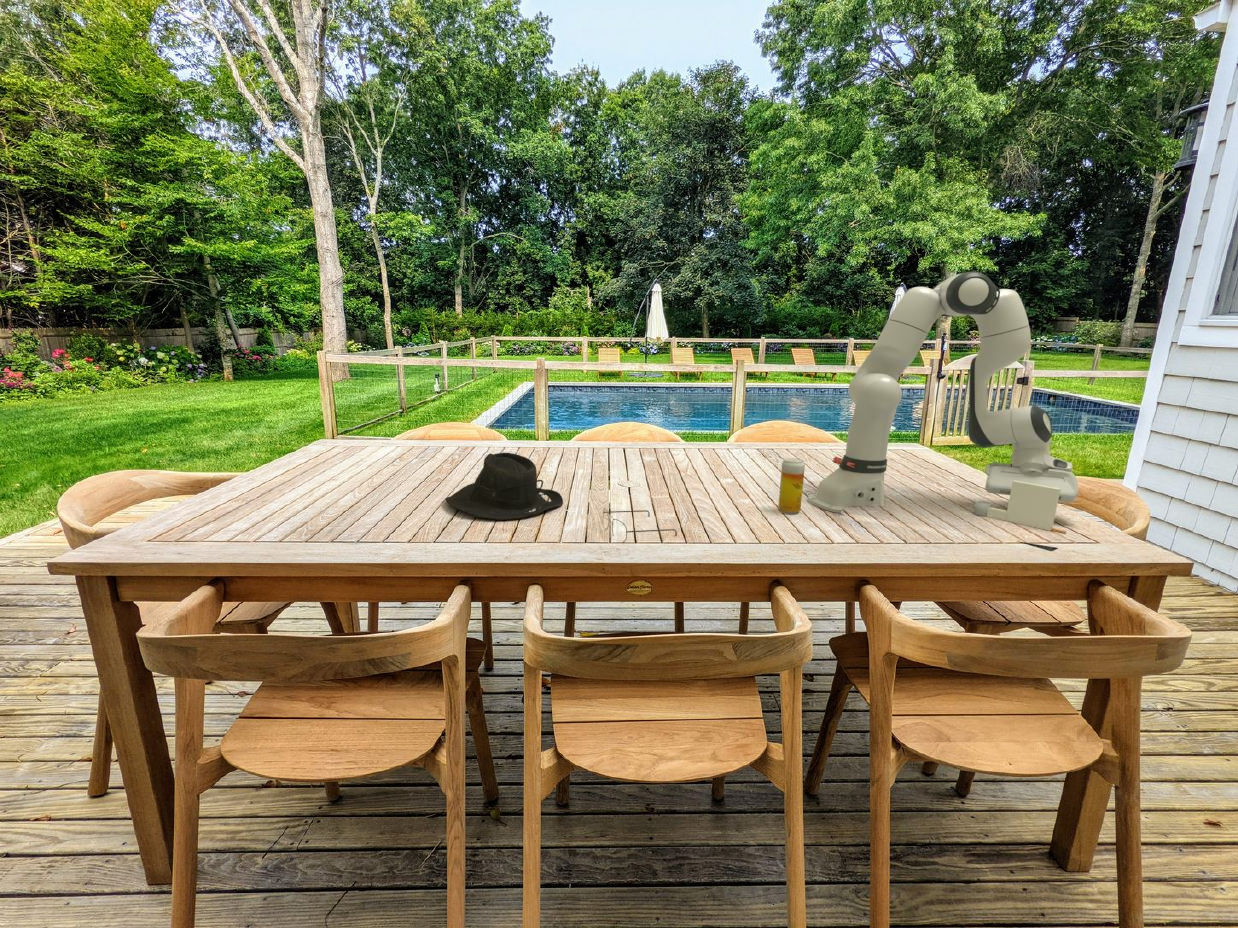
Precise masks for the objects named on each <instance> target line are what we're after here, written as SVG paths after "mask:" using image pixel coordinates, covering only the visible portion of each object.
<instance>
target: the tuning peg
mask: <svg viewBox="0 0 1238 928" xmlns="http://www.w3.org/2000/svg"><path fill="white" fill-rule="evenodd" d="M1060 490H1061V489H1060V488H1055V487H1049V486H1044V485H1038V484H1032V483H1027V482H1021V481H1016V480H1014V481H1013V482H1012V487H1011V493H1010V495H1009V499H1008V504H1007V510H1006V509H1002V508H997V507H993V506H992V507H991V505H992V504H991V503H989V502H985V501H975V504H974V508H973V509H974V510H973V514H974V515H976V516H979V517H988V518H991V519H996V520H1002V521H1004V522H1005V521H1006V522H1010V523H1014V524H1018V525H1023V526H1027V527H1031V528H1032V527H1033V528H1037V529H1040V530H1045V531H1048V532H1049V531H1050V532H1052V531H1054V532H1056V533H1057V532H1059V533H1062V534H1067V530H1063V529H1059V528H1055V527H1053V526H1054V522H1055V519H1056V513H1057V508H1058V503H1059V501H1058V499H1059V495H1060Z"/></svg>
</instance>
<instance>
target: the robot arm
mask: <svg viewBox="0 0 1238 928" xmlns="http://www.w3.org/2000/svg"><path fill="white" fill-rule="evenodd" d="M964 316H969V317H972V319H973V320H974V321H975V323H976V325H977V327H978V328H977V329H978V334H979V341H980V344H979V350H978V353H977V355H975V356H974V357H973V358H972V359H971V363H970V366H969V377H968V378H969V379H968V381H969V384H968V385H969V387H968V389H969V391H968V394H969V398H968V400H969V402H968V406H969V409H968V411H969V412H968V413H969V415H968V425H967V426H968V427H967V435H968V437H969V440H970V442H971V443H973V444H974V445H975V446H978V447H980V448H983V449H986V448H991V447H997V446H1000V445H1008V444H1009V445H1010V444H1011V445H1012V448H1013V449H1012V450H1013V451H1012V453H1011V459H1010V461H1011V463H1000V462H992V463H988V464H987V465H986V466H985V474H986V475H987V477H986V481H985V487H984V490H985V491H986V492H987V493H988V494H994V495H995V494H996V495H1005V496H1010V493H1011V487H1012V482H1013V481H1014V480H1016V481H1021V482H1027V483H1032V484H1038V485H1044V486H1049V487H1055V488H1060V489H1061V490H1060V495H1059V499H1058V502H1064V503H1074V501H1076V499H1077V498H1078V496H1079V484H1078V480H1077V477H1076V475H1075V474H1074V472H1072V471H1073V466H1074V465H1073V463H1071V462H1070V461H1066V460H1063V459H1060V458H1057V457H1054V456H1051V452H1050V448H1051V446H1052V436H1053V423H1052V419H1051V416H1050V415H1049V413H1048V412H1047V411H1045V410H1044V409H1042V408H1041V407H1039V406H1037V405H1026V406H1024V405H1023V406H1019V407H1013V408H1007V409H1000V410H994V411H991V410H989V409H988V404H989V403H988V399H989V398H988V396H989V395H988V394H989V393H988V388H989V387H988V385H989V380H990V378H991V377H993V375H995V374H997V373H998V372H1000V371H1001V370H1004V369H1005V368H1007V367H1008V366H1010V365H1013V364H1014V363H1016V362H1017V361H1019V360H1020V359H1021V358H1023V356H1024V355H1026V353H1027V352H1028V351H1029V349H1030V347H1031V344H1032V338H1031V337H1032V336H1031V328H1030V325H1029V323H1030V322H1029V319H1028V315H1027V311H1026V308H1025V306H1024V304H1023V301H1022V299H1021V296H1020V295H1019V293H1018V292H1017V291H1016V290H1013V289H1009V288H999V287H998V286H997V285H996V284H995V283H993V281H992V280H991V279H990V277H988V276H987V275H985V274H984V273H982V272H978V271H967V272H963V273H957V274H955V275H953V276H950V277H948V278H946V279H944V280H942V281H940V282H939V283H937V285H935V286H934V287H932V288H929V287H927V286H915V287H911V288H910V289H908V290H907V291H906V292H905V294H904V295H903V296H902V298H900V300H899V301H898V303H897V304H896V306H895V307H894V309H893V310H892V312H891V314H890V315H889V318H888V319H887V321H886V323H885V325H884V327H883V328H882V330H881V332H880V335H879V337H878V339H877V340H876V341H875V344H874V346H873V347H872V349H871V351H870V352H869V354H868V355H867V356H866V358H865V360H864V361H863V362H862V364H861V365H860V366H859V368H858V370H857V372H856V373H855V375H854V376H853V378H852V379H851V380H850V383H849V384H848V385H849V386H848V395H849V398H850V400H851V401H852V402H853V403H854V404H855V405H854V410H853V415H852V418H851V421H850V425H849V427H848V429H847V438H846V448H845V454H844V455H842V456H843V457H842V458H841V457H838V456H833V458H832V462H833V464H836V465H838V468H837V469H835V470H834V471H832V472H831V473H830V474H829V475H827V476H825V478H823V479H821V480H820V481H819V484H818V486H817V489H816V494H814V495H809V496H808V497H807V502H809V503H810V504H812V505H814V506H816V507H818V508H820V509H823V510H825V511H828V512H832V513H840V514H841V513H842V510H843V509H844V508H845V507H883V506H885V504H886V498H885V472H886V471H887V466H888V458H887V452H888V445H889V437H890V433H891V428H892V425H893V422H894V419H895V416H896V412H897V410H898V409H897V408H898V405H899V404H900V402H901V400H902V395H903V393H902V388H901V386H900V384H899V382H898V379H899V378H900V377H901V376H902V374H903V373H904V372H905V371H906V369H907V368H908V367H909V366H910V365H911V364H912V363H913V362H914V360H915V359H916V357H917V355H918V353H919V351H920V349H921V348H922V345H924V343H925V341H926V339H927V337H928V335H929V333H930V331H931V329H932V327H933V325H934V323H936V321H937V320H938V319H939V317H950V318H951V317H957V318H958V317H964Z"/></svg>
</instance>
